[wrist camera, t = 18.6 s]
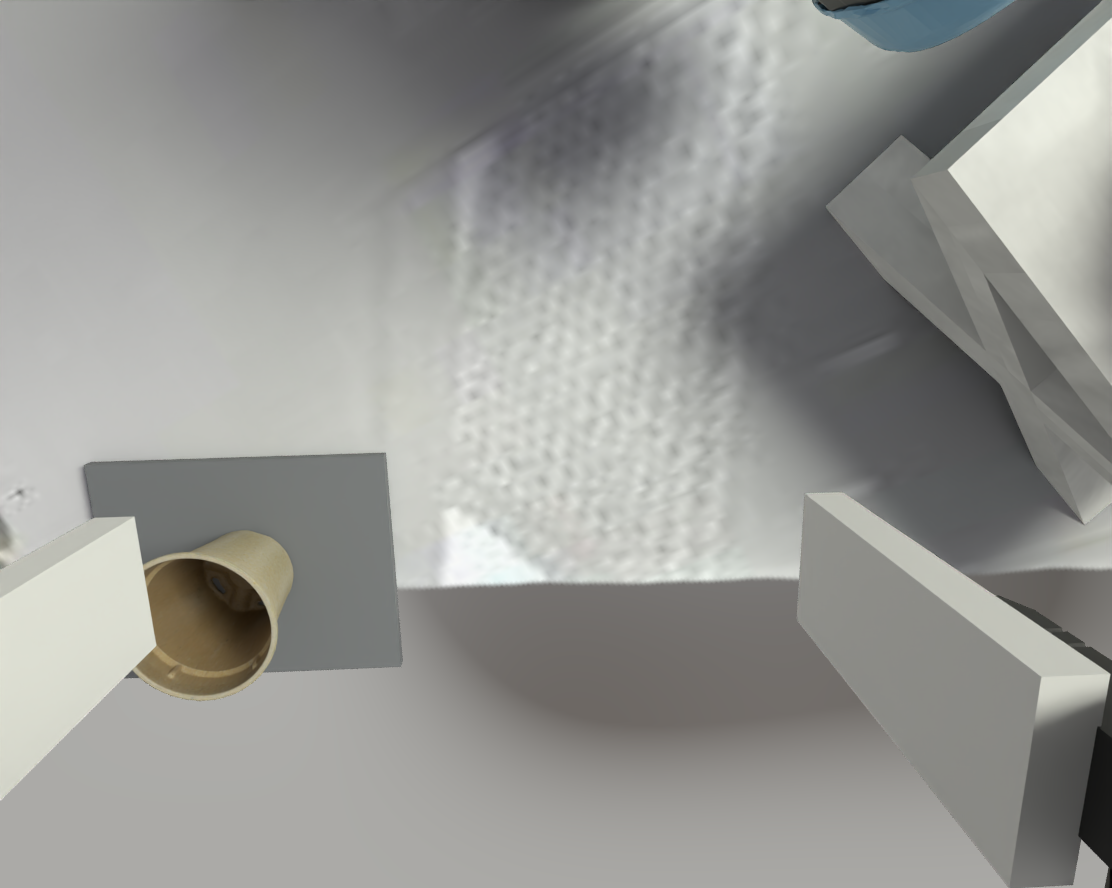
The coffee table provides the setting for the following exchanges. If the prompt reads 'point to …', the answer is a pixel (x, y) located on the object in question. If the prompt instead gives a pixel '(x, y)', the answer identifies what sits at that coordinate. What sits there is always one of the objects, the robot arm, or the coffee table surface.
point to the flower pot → (215, 615)
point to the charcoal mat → (280, 540)
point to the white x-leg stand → (1017, 250)
